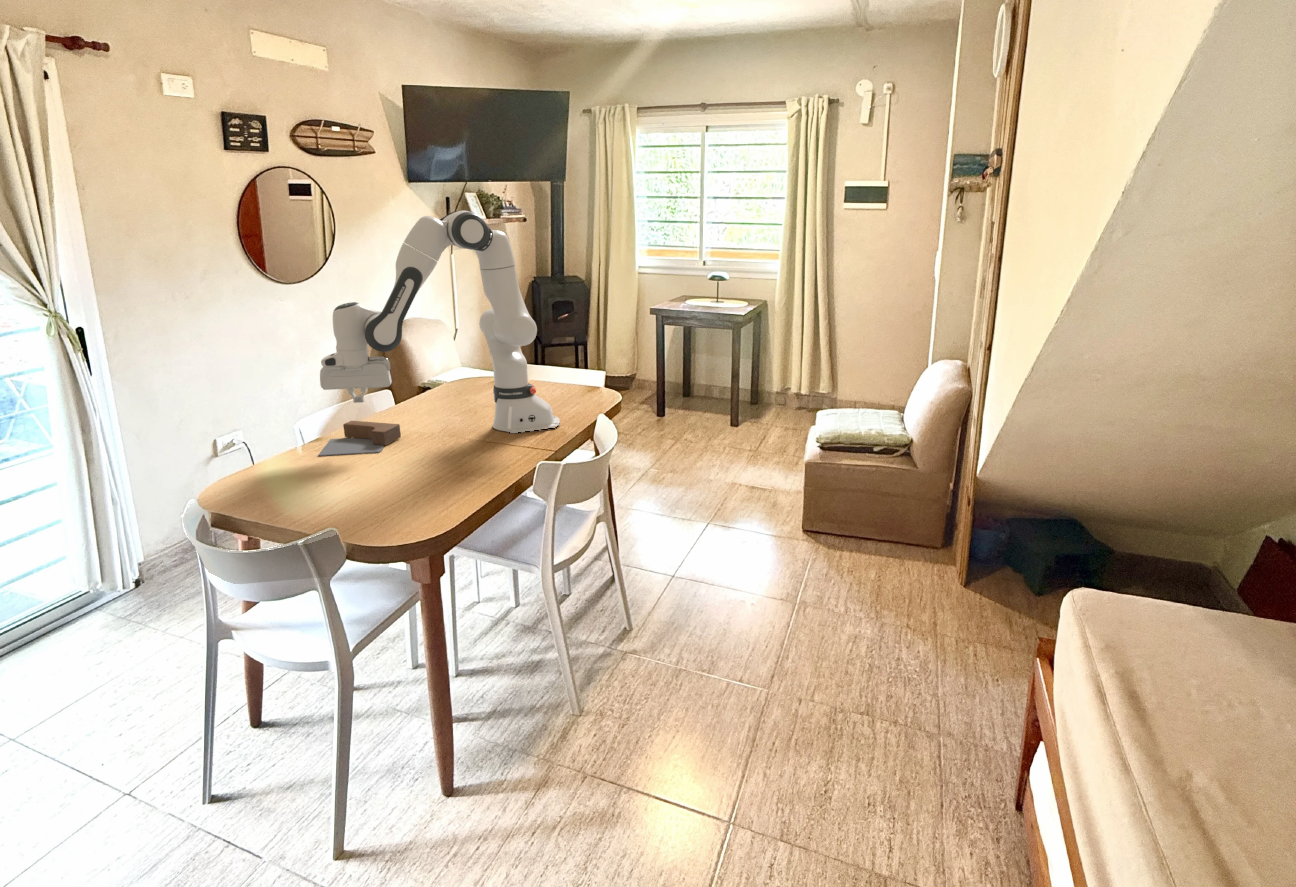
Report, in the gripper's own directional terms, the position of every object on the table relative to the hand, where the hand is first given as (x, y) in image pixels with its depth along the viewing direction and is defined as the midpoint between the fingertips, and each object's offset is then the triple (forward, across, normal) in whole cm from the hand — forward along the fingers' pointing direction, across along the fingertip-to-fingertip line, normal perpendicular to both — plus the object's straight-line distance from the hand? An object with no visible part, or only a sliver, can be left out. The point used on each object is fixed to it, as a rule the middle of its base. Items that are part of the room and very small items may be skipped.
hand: (359, 402), depth 227 cm
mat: (+14, +3, 0) cm, 14 cm away
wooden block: (+11, -9, -1) cm, 14 cm away
